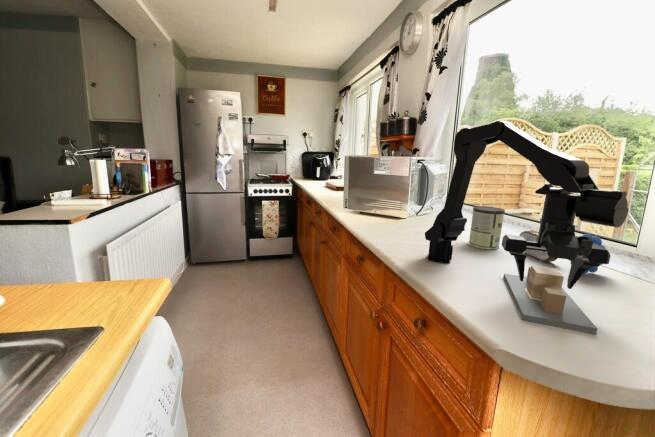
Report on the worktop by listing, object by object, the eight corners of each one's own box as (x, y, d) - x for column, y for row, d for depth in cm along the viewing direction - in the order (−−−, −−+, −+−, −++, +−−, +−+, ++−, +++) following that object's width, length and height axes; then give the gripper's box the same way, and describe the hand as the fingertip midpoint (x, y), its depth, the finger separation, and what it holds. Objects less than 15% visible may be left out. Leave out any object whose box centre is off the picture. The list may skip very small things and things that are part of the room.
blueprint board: (522, 319, 61) (526, 295, 60) (503, 277, 83) (506, 259, 82) (596, 334, 57) (602, 308, 56) (555, 285, 79) (559, 266, 78)
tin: (558, 265, 95) (563, 239, 94) (549, 265, 95) (554, 239, 93) (522, 250, 110) (526, 227, 108) (514, 250, 110) (518, 227, 108)
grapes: (579, 280, 84) (589, 237, 81) (558, 270, 90) (566, 231, 88) (615, 279, 86) (625, 237, 83) (591, 270, 92) (600, 231, 90)
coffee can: (470, 240, 121) (475, 205, 118) (499, 245, 116) (505, 208, 113) (466, 246, 113) (471, 208, 110) (497, 251, 107) (504, 212, 104)
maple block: (531, 297, 69) (536, 272, 67) (526, 289, 73) (531, 265, 72) (558, 302, 67) (563, 276, 66) (551, 293, 71) (556, 269, 70)
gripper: (515, 219, 62) (503, 290, 65) (633, 230, 56) (613, 309, 59) (506, 210, 72) (496, 272, 76) (605, 219, 66) (589, 287, 69)
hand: (544, 284), depth 69 cm, fingers open, 9 cm apart
